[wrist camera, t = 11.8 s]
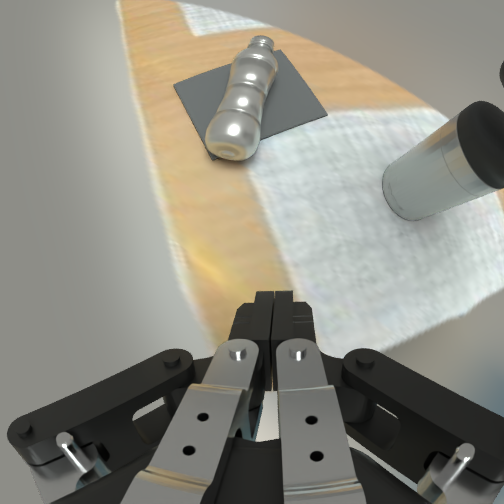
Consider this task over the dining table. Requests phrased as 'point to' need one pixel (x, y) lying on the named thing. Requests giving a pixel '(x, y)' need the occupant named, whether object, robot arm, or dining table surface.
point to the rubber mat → (275, 107)
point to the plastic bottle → (243, 102)
